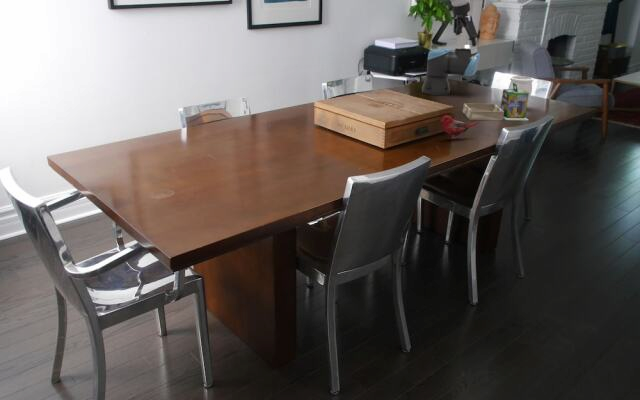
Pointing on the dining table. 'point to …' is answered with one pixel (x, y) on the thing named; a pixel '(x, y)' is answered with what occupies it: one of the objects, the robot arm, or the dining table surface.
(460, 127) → the decorative bird figurine
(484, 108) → the pale wooden box
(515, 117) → the sage-grey mat
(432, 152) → the dining table surface
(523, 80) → the jar
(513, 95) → the chalk box
